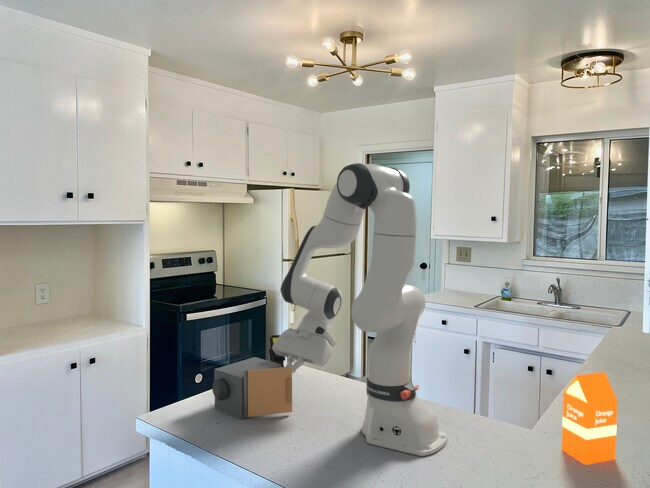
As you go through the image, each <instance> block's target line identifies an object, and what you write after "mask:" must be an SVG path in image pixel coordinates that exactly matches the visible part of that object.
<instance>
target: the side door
mask: <svg viewBox="0 0 650 488" xmlns="http://www.w3.org/2000/svg"><path fill="white" fill-rule="evenodd" d="M292 412H293V373H292V367H286V366H284V367H281V368H269V369H257V370H244V416H248V417H257V416H258V417H260V416H267V415H276V414H286V413H292ZM248 417H247V418H248Z"/></svg>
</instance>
